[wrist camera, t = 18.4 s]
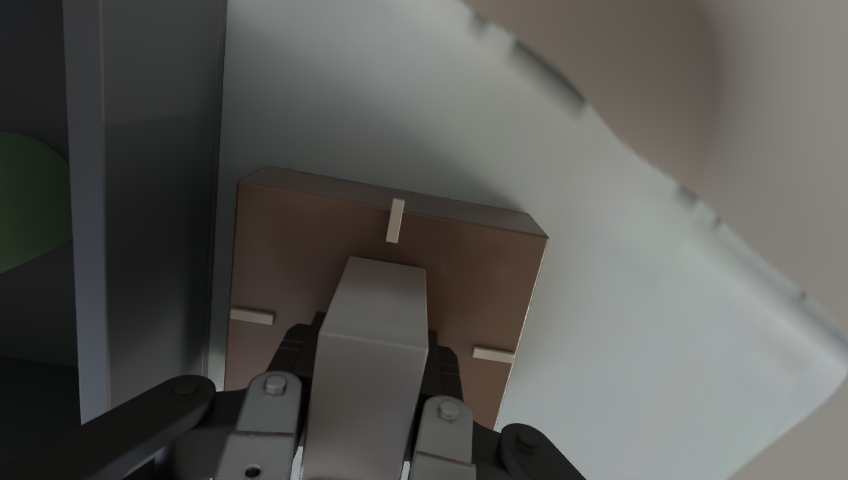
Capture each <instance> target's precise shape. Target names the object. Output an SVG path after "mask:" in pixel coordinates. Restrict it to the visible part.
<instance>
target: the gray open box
mask: <svg viewBox="0 0 848 480" xmlns="http://www.w3.org/2000/svg"><path fill="white" fill-rule="evenodd" d="M226 14H227V0H0V132H16V133H20V134H24V135H27V136H30V137H33V138H35V139H37V140H39V141H41V142H43V143H44V144H46V145H48V146H49V147H51V148H52V149H53V150H54V151H56V152H57V153H58V154H59V155H60V156H61V157H62V158H63V159H64V160H65V161H66V162H67V163H68V165H69V166H70V188H71V211H72V233H73V238H72V239H71V240H70V241H68V242H67V243H66V244H64V245H63V246H61V247H58V248H56V249H54V250H52V251H49V252H47V253H45V254H43V255H41V256H38V257H36V258H34V259H32V260H29V261H27V262H25V263H23V264H20V265H18V266H16V267H14V268H11V269H9V270H7V271H5V272H2V273H0V468H1V467H3V466H5V465H7V464H9V463H11V462H13V461H15V460H16V459H18V458H20V457H22V456H24V455H26V454H28V453H30V452H32V451H34V450H35V449H37V448H39V447H41V446H43V445H45V444H47V443H49V442H51V441H52V440H54V439H56V438H58V437H60V436H62V435H64V434H66V433H68V432H70V431H71V430H73V429H75V428H77V427H79V426H81V425H83V424H85V423H87V422H89V421H90V420H92V419H94V418H96V417H98V416H100V415H102V414H104V413H106V412H107V411H109V410H111V409H113V408H115V407H117V406H119V405H121V404H123V403H125V402H126V401H128V400H130V399H132V398H134V397H136V396H138V395H140V394H142V393H143V392H145V391H147V390H149V389H151V388H153V387H155V386H157V385H159V384H161V383H162V382H164V381H166V380H168V379H171V378H173V377H177V376H181V375H200V376H204V377H206V378H207V370H208V351H209V333H210V314H211V295H212V276H213V258H214V239H215V220H216V201H217V183H218V164H219V145H220V126H221V108H222V89H223V70H224V51H225V33H226ZM154 457H155V453H154V454H153V455H151V456H150V457H148V458H147V459H145V460H144V461H142V462H141V463H139V464H138V465H136V466H135V467H133V468H132V469H131V470H130V471H128V473H127V474H126V475H125V476H124V477H126V476H127V475H129V474H130V473H132V472H133V471H135V470H136V469H138V468H139V467H141V466H142V465H144V464H145V463H147V462H148V461H150V460H151V459H153V458H154ZM124 477H123V478H124Z"/></svg>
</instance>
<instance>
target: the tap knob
mask: <svg viewBox="0 0 848 480" xmlns="http://www.w3.org/2000/svg"><path fill="white" fill-rule="evenodd" d="M427 355H428V326H427V300H426V274H425V269H424V268H418V267H412V266H406V265H401V264H395V263H389V262H383V261H377V260H371V259H365V258H360V257H354V256H350V257H349V259H348V262H347V264H346V267H345V269H344V272H343V274H342V277H341V279H340V282H339V284H338V287H337V289H336V292H335V294H334V296H333V299H332V301H331V304H330V306H329V309H328V311H327V314H326V316H325V319H324V321H323V324H322V326H321V329H320V331H319V334H318V342H317V349H316V357H315V364H314V372H313V379H312V387H311V394H310V402H309V409H308V417H307V424H306V432H305V439H304V447H303V454H302V462H301V469H300V477H299V480H400V479H401V475H402V470H403V465H404V461H405V456H406V452H407V447H408V442H409V438H410V433H411V429H412V424H413V419H414V415H415V410H416V406H417V401H418V396H419V392H420V387H421V383H422V378H423V373H424V369H425V364H426V360H427Z"/></svg>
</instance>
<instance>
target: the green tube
mask: <svg viewBox="0 0 848 480" xmlns="http://www.w3.org/2000/svg"><path fill="white" fill-rule="evenodd" d="M72 238H73V233H72V211H71V188H70V166H69V165H68V163H67V162H66V161H65V160H64V159H63V158H62V157H61V156H60V155H59V154H58V153H57V152H56V151H54V150H53V149H52V148H51V147H49V146H48V145H46V144H44V143H43V142H41V141H39V140H37V139H35V138H33V137H30V136H27V135H24V134H20V133H16V132H0V273H2V272H5V271H7V270H9V269H11V268H14V267H16V266H18V265H20V264H23V263H25V262H27V261H29V260H32V259H34V258H36V257H38V256H41V255H43V254H45V253H47V252H49V251H52V250H54V249H56V248H58V247H61V246H63V245H64V244H66V243H67V242H68V241H70V240H71V239H72Z"/></svg>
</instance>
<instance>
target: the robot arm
mask: <svg viewBox="0 0 848 480" xmlns="http://www.w3.org/2000/svg"><path fill="white" fill-rule="evenodd" d="M326 314H327V313H326V312H320V311H317V312H316V314H315V316H314V319H313V321H312V323H311V325H307V324H300V323H297V324H296V325H294V326H293V327H291V328H290V329H288V330H287V332H286V334H285V336H284V338H283V340H282V341H281V343H280V345H279V348H278V349H277V351H276V353H275V355H274V357H273V359H272V360H271V362H270V364H269V366H268V368H267V370H266V372H263V373H261V374H258V375H257V376H255V377H254V378H253V379H252V380H251V381H250V382H249V385H248V388H244V389H240V390H234V391H221V392H216V387H215V384H214V383H213V382H212V381H211V380H210V379H209V378H206V377H204V376H200V375H181V376H177V377H173V378H171V379H168V380H166V381H164V382H162V383H161V384H159V385H157V386H155V387H153V388H151V389H149V390H147V391H145V392H143V393H142V394H140V395H138V396H136V397H134V398H132V399H130V400H128V401H126V402H125V403H123V404H121V405H119V406H117V407H115V408H113V409H111V410H109V411H107V412H106V413H104V414H102V415H100V416H98V417H96V418H94V419H92V420H90V421H89V422H87V423H85V424H83V425H81V426H79V427H77V428H75V429H73V430H71V431H70V432H68V433H66V434H64V435H62V436H60V437H58V438H56V439H54V440H52V441H51V442H49V443H47V444H45V445H43V446H41V447H39V448H37V449H35V450H34V451H32V452H30V453H28V454H26V455H24V456H22V457H20V458H18V459H16V460H15V461H13V462H11V463H9V464H7V465H5V466H3V467H1V468H0V480H209V479H210V478H213V479H212V480H290V478H291V471H292V463H293V459H294V457H295V455H296V452H297V449H298V446H303V447H304V439H305V432H306V424H307V417H308V409H309V402H310V394H311V387H312V379H313V372H314V364H315V357H316V349H317V342H318V334H319V331H320V329H321V326H322V324H323V321H324V319H325V316H326ZM154 453H155V457H154V458H153V459H151V460H150V461H148V462H147V463H145V464H144V465H142V466H141V467H139V468H138V469H136V470H135V471H133V472H132V473H130V474H129V475H127V476H126V477H124V476H125V475H126V474H127V473H128V471H130V470H131V469H132V468H133V467H135V466H136V465H138V464H139V463H141V462H142V461H144V460H145V459H147V458H148V457H150V456H151V455H153V454H154ZM405 461H409V462H410V470H409V474H408V479H407V480H586V479H585V478H584V477H583V476H582V475H581V474H580V472H579V471H578V470H577V469H576V468H575V467H574V466H573V465H572V464H571V463H570V462H569V461H568V460H567V458H566V457H565V456H564V455H563V454H562V453H561V452H560V451H559V450H558V449H557V448H556V447H555V446H554V444H553V443H552V442H551V441H550V440H549V439H548V438H547V437H546V436H545V435H544V434H543V433H542V432H540V431H539V430H537V429H535V428H533V427H531V426H529V425H525V424H520V423H513V424H509V425H506V426H505V427H504V428H503V429H502V431H501V433H499V432H496V431H493V430H491V429H488V428H486V427H484V426H482V425H480V424H479V423H477V422H476V421H474V420H473V414H472V411H471V409H470V408H469V407H468V406H467V405H466V404H465V403H464V399H463V392H462V385H461V378H460V371H459V364H458V357H457V356H456V354H455V353H454V352H453V350H452V349H451V348H450V347H445V346H439V345H438V338H437V330H432V329H428V355H427V360H426V364H425V369H424V373H423V378H422V383H421V387H420V392H419V396H418V401H417V406H416V410H415V415H414V419H413V424H412V429H411V433H410V438H409V442H408V447H407V452H406V456H405ZM123 477H124V478H123Z"/></svg>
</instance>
